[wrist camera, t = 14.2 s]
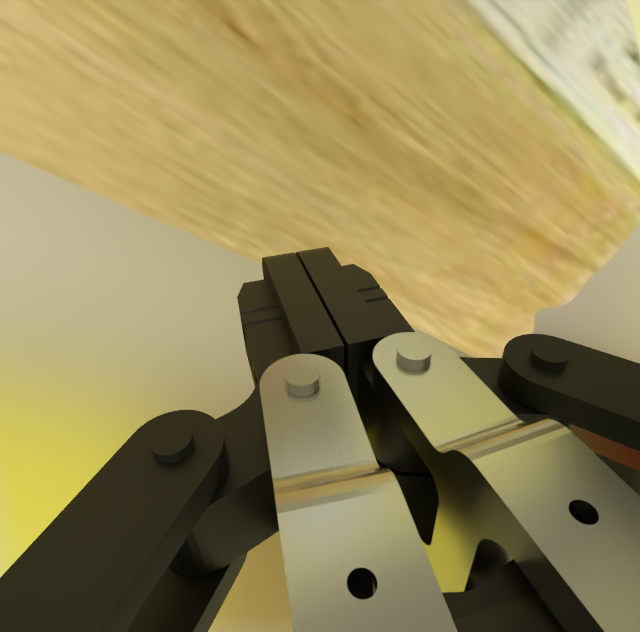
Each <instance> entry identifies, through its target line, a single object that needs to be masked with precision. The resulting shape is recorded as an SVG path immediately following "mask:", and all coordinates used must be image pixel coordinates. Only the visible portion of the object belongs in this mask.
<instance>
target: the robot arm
mask: <svg viewBox="0 0 640 632" xmlns="http://www.w3.org/2000/svg"><path fill="white" fill-rule="evenodd" d="M262 267H263V276H264V280H260V281H254V282H248V283H244V284H243V286H242V288H241V290H240V293H239V295H238V297H237V298H238V304H239V310H240V315H241V322H242V328H243V335H244V341H245V347H246V353H247V357H248V361H249V365H250V368H251V373H252V377H253V380H254V385H255V389H254V391H253V393H252V394H251V395H250V397H249V398H248V399H247V400H246V401H245V402H244V403H243V404H242V405H240V406H239V407H238V408H236V409H234V410H233V411H231V412H229V413H227V414H225V415H224V416H221V417H219V418H217V419H214V418H213V417H211V416H210V415H208V414H206V413H203V412H200V411H195V410H178V411H173V412H169V413H166V414H163V415H160V416H158V417H156V418H153V419H152V420H150V421H148V422H147V423H145V424H144V425H143V426H141V427H140V428H139V429H138V430H137V431H136V432H135V433H134V434H133V435H132V436H131V437H130V438H129V439H128V440H127V442H126V443H125V444H124V445H123V446H122V447H121V448H120V449H119V450H118V451H117V452H116V453H115V454H114V455H113V457H112V458H111V459H110V460H109V461H108V462H107V463H106V464H105V465H104V467H102V468H101V470H100V471H99V472H98V473H97V474H96V475H95V476H94V477H93V478H92V479H91V480H90V481H89V482H88V484H87V485H86V486H85V487H84V488H83V489H82V490H81V491H80V492H79V493H78V495H76V497H75V498H74V499H73V500H72V501H71V502H70V503H69V504H68V505H67V506H66V507H65V508H64V510H63V511H62V512H61V513H60V514H59V515H58V516H57V517H56V518H55V519H54V520H53V522H52V523H51V524H50V525H49V526H48V527H47V528H46V529H45V530H44V531H43V532H42V533H41V534H40V536H39V537H38V538H37V539H36V540H35V541H34V542H33V543H32V544H31V545H30V546H29V547H28V549H27V550H26V551H25V552H24V553H23V554H22V555H21V556H20V557H19V558H18V559H17V560H16V561H15V563H14V564H13V565H12V566H11V567H10V568H9V569H8V570H7V571H6V572H5V573H4V574H3V576H2V577H1V578H0V632H208V630H209V628H210V626H211V625H212V623H213V620H214V619H215V617H216V615H217V613H218V611H219V609H220V608H221V606H222V604H223V602H224V600H225V598H226V596H227V594H228V592H229V591H230V589H231V587H232V585H233V583H234V581H235V579H236V577H237V576H238V573H239V572H240V570H241V568H242V566H243V563H244V562H245V559H246V555H247V552H248V551H249V550H251V549H252V548H254V547H255V546H257V545H258V544H260V543H261V542H263V541H264V540H266V539H267V538H269V537H270V536H271V535H273V534H274V533H276V532H278V531H280V537H281V544H282V552H283V559H284V566H285V573H286V580H287V587H288V594H289V601H290V609H291V616H292V622H293V630H294V632H640V471H639V470H635V469H633V468H630V467H627V466H625V465H623V464H621V463H618V462H616V461H613V460H611V459H609V458H606V457H604V456H602V455H599V454H597V453H594V452H593V451H591V450H590V449H589V448H588V447H587V446H586V445H585V444H584V443H583V442H582V441H581V440H580V439H579V438H578V437H577V436H576V435H575V434H574V433H572V432H571V430H572V428H573V426H574V425H575V426H578V427H580V428H583V429H585V430H588V431H590V432H593V433H595V434H598V435H600V436H603V437H605V438H608V439H610V440H613V441H615V442H618V443H620V444H623V445H625V446H628V447H630V448H633V449H635V450H638V451H640V364H639V363H636V362H632V361H629V360H626V359H623V358H620V357H617V356H614V355H611V354H608V353H604V352H601V351H598V350H595V349H592V348H589V347H585V346H582V345H579V344H576V343H573V342H570V341H566V340H564V339H560V338H557V337H553V336H549V335H543V334H527V335H521V336H518V337H515V338H513V339H512V340H510V341H509V342H508V343H507V344H506V346H505V348H504V352H503V356H502V358H466V357H458V356H457V355H456V354H455V353H454V352H453V350H451V348H450V347H449V346H447V345H446V344H445V343H444V342H442V341H441V340H439V339H437V338H435V337H433V336H430V335H427V334H422V333H415V331H414V330H413V329H412V328H411V326H410V325H409V324H408V322H407V321H406V320H405V318H404V317H403V316H402V314H401V313H400V312H399V310H398V309H397V308H396V306H395V305H394V304H393V303H392V301H391V300H390V299H388V296H387V295H386V293H385V292H384V291H383V289H382V288H380V285H379V284H378V283H377V281H376V280H375V279H374V278H373V276H372V275H371V274H370V273H369V272H367V271H365V270H363V269H361V268H360V267H358V266H356V265H354V264H351V265H346V266H341V265H340V263H339V262H338V260H337V259H336V257H335V256H334V254H333V253H332V251H331V250H330V249H329V248H328V247H325V248H318V249H312V250H306V251H300V252H296V254H295V253H288V254H282V255H276V256H270V257H263V258H262Z"/></svg>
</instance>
